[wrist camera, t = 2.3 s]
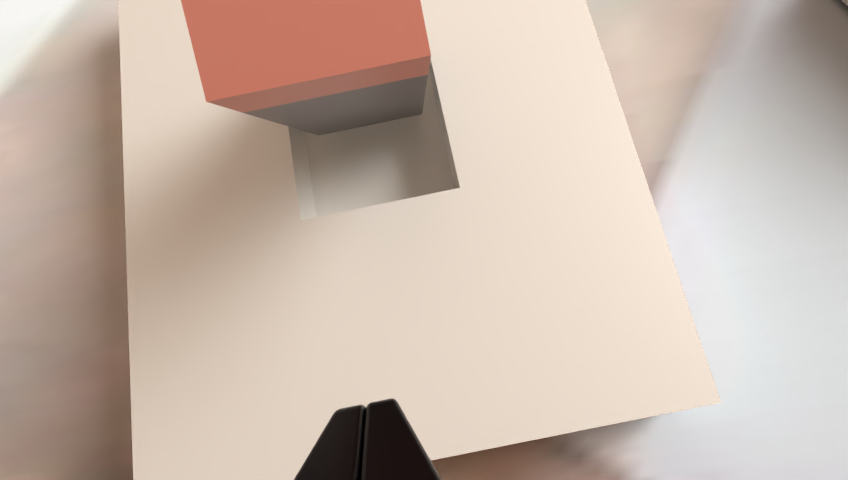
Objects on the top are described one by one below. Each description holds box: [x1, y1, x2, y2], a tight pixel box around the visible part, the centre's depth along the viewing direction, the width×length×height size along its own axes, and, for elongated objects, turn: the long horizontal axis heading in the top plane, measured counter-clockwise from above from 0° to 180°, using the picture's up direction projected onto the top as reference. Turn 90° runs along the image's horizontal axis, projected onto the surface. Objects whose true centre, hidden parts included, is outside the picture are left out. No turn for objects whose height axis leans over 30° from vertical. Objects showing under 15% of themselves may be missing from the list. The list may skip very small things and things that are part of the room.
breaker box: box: [118, 0, 721, 480], centre depth 20 cm, size 20×16×4 cm
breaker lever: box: [181, 0, 431, 135], centre depth 15 cm, size 2×4×11 cm, turn 101°
